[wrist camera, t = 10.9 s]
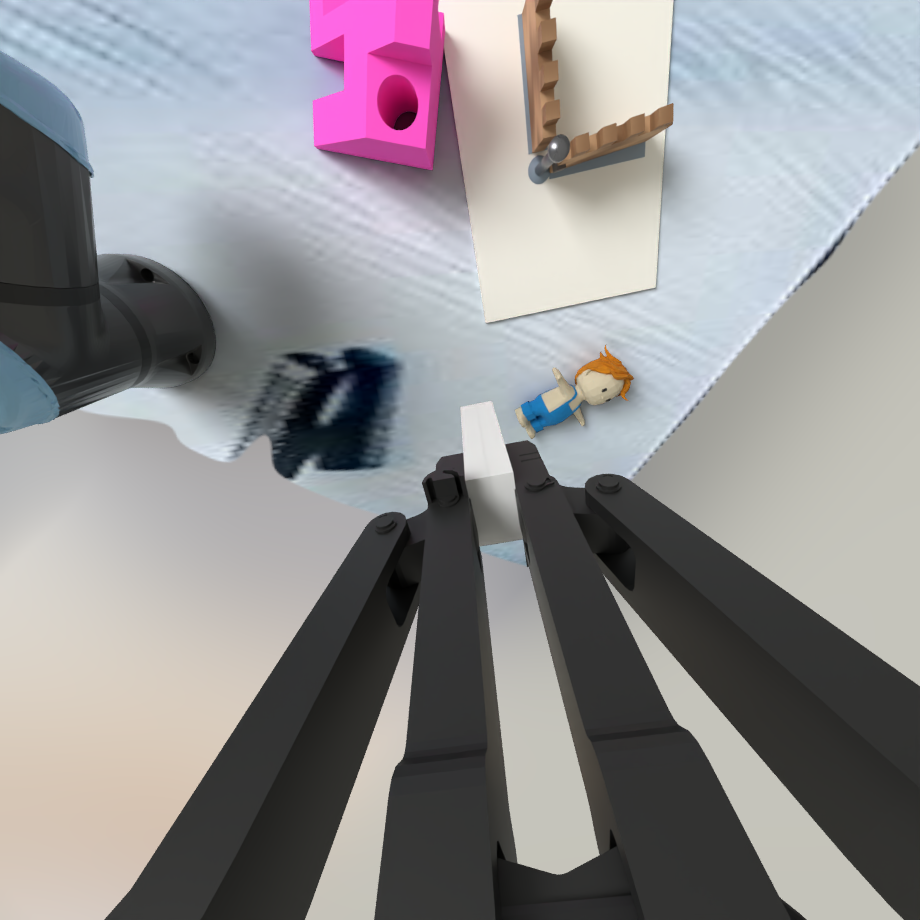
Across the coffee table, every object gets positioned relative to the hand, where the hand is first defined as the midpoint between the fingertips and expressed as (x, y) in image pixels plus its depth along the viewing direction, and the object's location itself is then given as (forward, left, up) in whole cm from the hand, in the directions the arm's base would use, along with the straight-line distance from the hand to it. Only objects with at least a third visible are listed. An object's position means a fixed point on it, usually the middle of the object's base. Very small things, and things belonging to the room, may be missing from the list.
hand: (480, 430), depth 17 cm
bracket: (-4, +23, -32) cm, 40 cm away
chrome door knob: (+11, +14, -32) cm, 37 cm away
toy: (+13, -11, -33) cm, 37 cm away
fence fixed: (+11, +20, -32) cm, 40 cm away
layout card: (+14, +14, -32) cm, 38 cm away
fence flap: (+17, +14, -32) cm, 39 cm away
